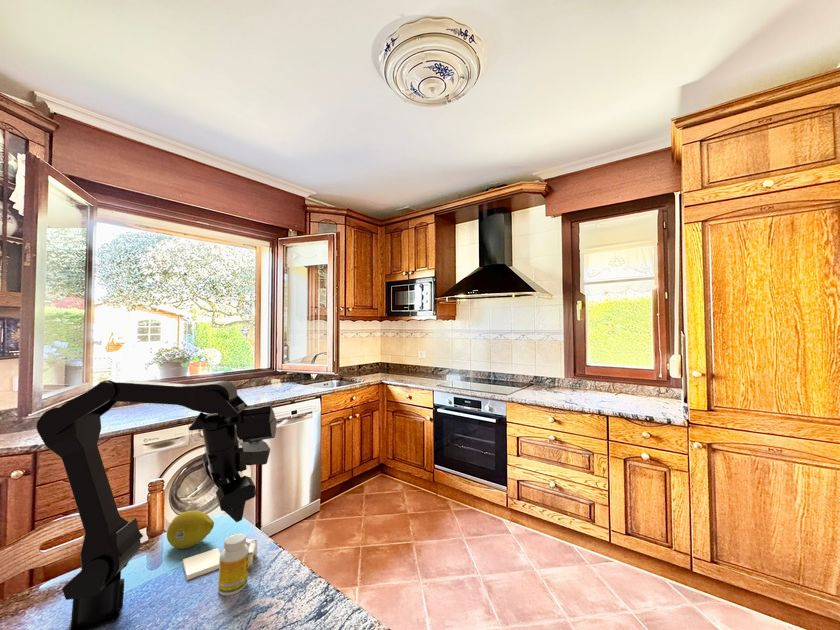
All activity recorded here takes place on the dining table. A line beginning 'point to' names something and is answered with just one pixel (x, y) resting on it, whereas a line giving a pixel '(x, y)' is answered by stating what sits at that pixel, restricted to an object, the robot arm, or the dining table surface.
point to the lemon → (189, 529)
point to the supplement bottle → (233, 565)
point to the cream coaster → (201, 563)
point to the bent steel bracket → (251, 551)
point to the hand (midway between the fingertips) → (233, 507)
